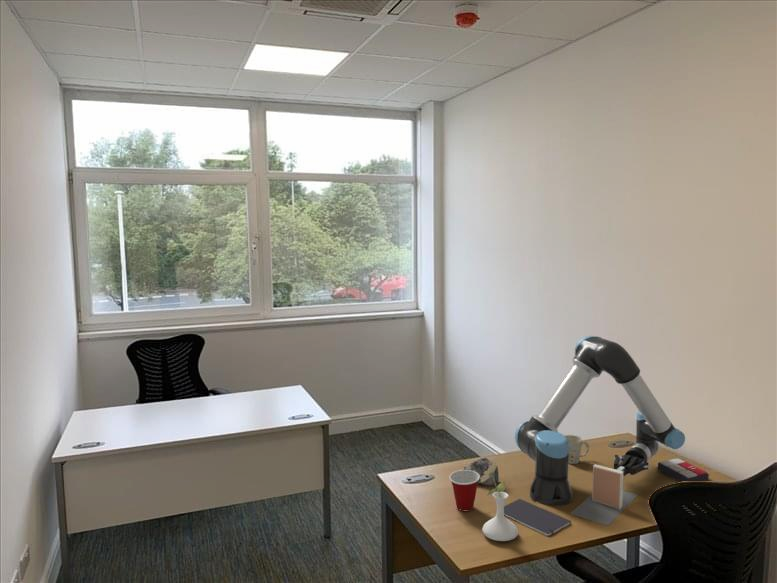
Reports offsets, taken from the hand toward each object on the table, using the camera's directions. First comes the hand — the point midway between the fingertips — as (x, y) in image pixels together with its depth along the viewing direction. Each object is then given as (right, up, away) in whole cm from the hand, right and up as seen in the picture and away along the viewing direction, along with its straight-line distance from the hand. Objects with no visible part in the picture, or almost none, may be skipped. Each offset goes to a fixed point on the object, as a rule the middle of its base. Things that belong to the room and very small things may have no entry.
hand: (616, 476), depth 214 cm
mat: (-6, -9, -5) cm, 12 cm away
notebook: (-34, -11, -13) cm, 38 cm away
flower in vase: (-48, -12, -25) cm, 55 cm away
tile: (-5, -8, -5) cm, 11 cm away
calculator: (+34, -6, +19) cm, 40 cm away
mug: (-4, -5, +35) cm, 35 cm away
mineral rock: (-47, -7, +16) cm, 50 cm away
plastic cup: (-56, -10, -6) cm, 57 cm away
